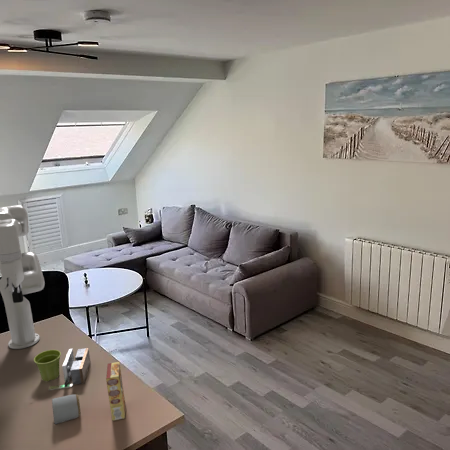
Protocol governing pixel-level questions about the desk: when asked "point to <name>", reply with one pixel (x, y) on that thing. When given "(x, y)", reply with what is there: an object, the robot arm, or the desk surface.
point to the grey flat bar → (68, 366)
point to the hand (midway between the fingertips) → (18, 301)
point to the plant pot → (48, 364)
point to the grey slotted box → (77, 369)
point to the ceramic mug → (65, 408)
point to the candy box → (115, 391)
